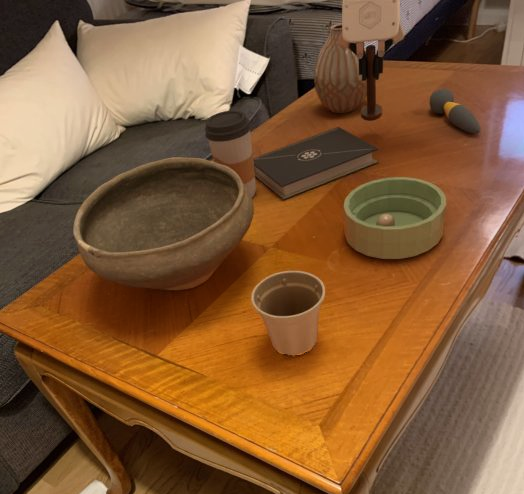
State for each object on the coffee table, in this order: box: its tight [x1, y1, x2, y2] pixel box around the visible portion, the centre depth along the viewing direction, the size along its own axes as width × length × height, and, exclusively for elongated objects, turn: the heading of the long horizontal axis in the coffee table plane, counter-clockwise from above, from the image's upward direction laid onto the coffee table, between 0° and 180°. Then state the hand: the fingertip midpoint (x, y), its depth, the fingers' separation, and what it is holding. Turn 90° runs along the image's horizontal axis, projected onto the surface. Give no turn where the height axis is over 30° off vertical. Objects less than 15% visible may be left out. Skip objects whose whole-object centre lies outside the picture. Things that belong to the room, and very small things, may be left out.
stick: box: [360, 44, 383, 122], centre depth 103 cm, size 4×4×14 cm
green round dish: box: [343, 176, 447, 260], centre depth 84 cm, size 16×16×6 cm
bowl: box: [72, 156, 255, 291], centre depth 82 cm, size 28×28×14 cm
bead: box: [376, 214, 395, 226], centre depth 85 cm, size 3×3×3 cm
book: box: [253, 126, 379, 201], centre depth 105 cm, size 22×15×3 cm
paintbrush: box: [429, 88, 481, 135], centre depth 110 cm, size 20×5×5 cm, turn 20°
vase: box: [313, 22, 367, 114], centre depth 119 cm, size 13×13×18 cm
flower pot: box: [250, 270, 326, 356], centre depth 69 cm, size 9×9×9 cm
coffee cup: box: [204, 109, 257, 198], centre depth 98 cm, size 8×8×15 cm
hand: (370, 77), depth 102 cm, fingers closed on stick
